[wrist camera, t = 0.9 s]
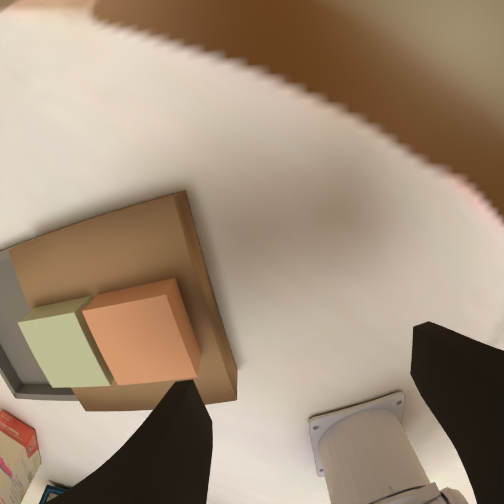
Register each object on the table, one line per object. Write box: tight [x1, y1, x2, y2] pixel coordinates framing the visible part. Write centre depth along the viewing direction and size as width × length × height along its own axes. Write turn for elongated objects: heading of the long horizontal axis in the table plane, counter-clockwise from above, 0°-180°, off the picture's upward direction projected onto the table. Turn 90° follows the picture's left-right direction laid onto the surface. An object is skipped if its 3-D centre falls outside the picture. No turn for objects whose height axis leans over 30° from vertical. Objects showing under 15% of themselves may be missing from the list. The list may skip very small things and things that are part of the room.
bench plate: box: [8, 191, 237, 411], centre depth 17 cm, size 12×11×3 cm
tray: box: [0, 240, 79, 401], centre depth 18 cm, size 12×9×2 cm
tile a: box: [82, 278, 202, 385], centre depth 14 cm, size 4×4×2 cm
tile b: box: [17, 296, 114, 388], centre depth 15 cm, size 4×4×2 cm
